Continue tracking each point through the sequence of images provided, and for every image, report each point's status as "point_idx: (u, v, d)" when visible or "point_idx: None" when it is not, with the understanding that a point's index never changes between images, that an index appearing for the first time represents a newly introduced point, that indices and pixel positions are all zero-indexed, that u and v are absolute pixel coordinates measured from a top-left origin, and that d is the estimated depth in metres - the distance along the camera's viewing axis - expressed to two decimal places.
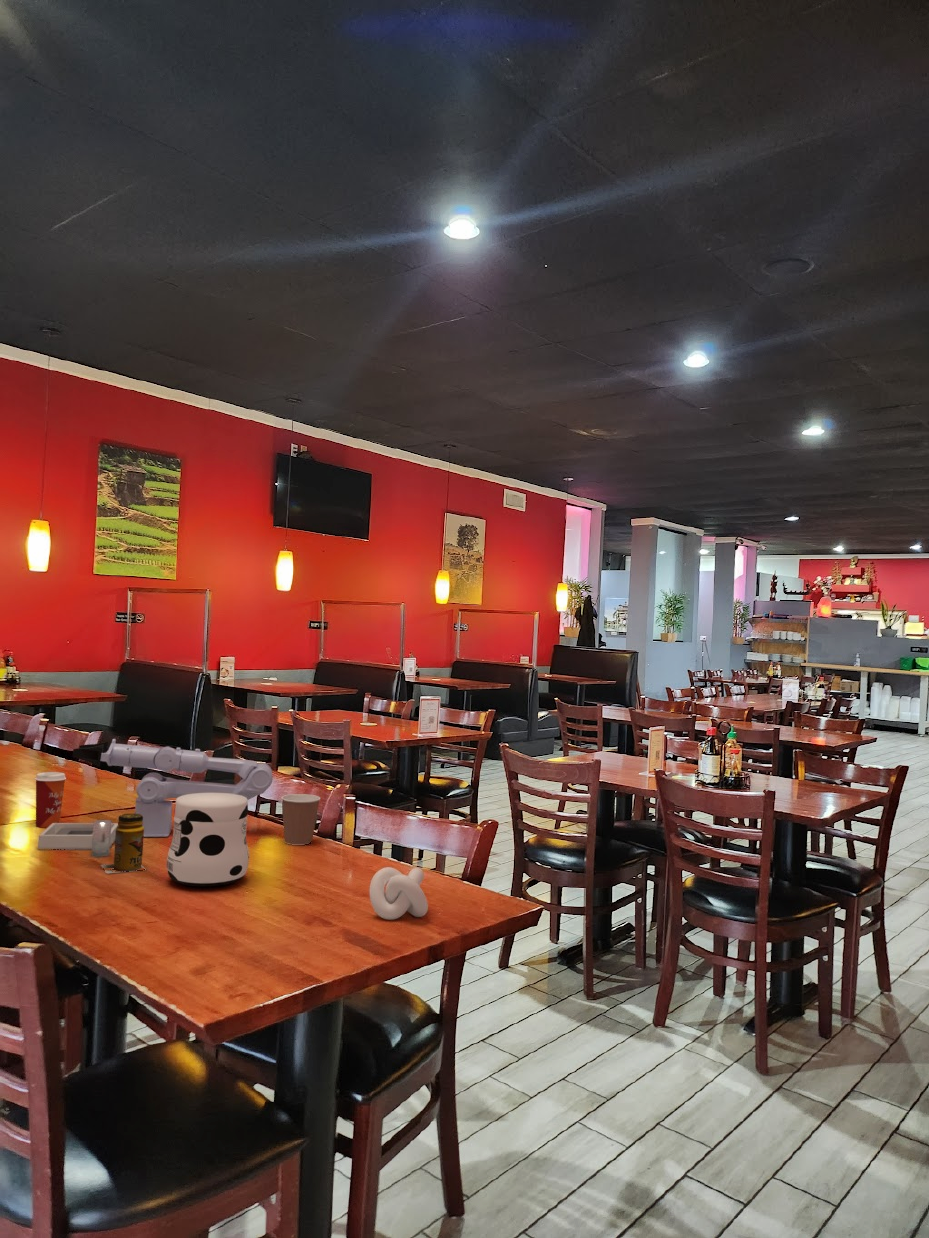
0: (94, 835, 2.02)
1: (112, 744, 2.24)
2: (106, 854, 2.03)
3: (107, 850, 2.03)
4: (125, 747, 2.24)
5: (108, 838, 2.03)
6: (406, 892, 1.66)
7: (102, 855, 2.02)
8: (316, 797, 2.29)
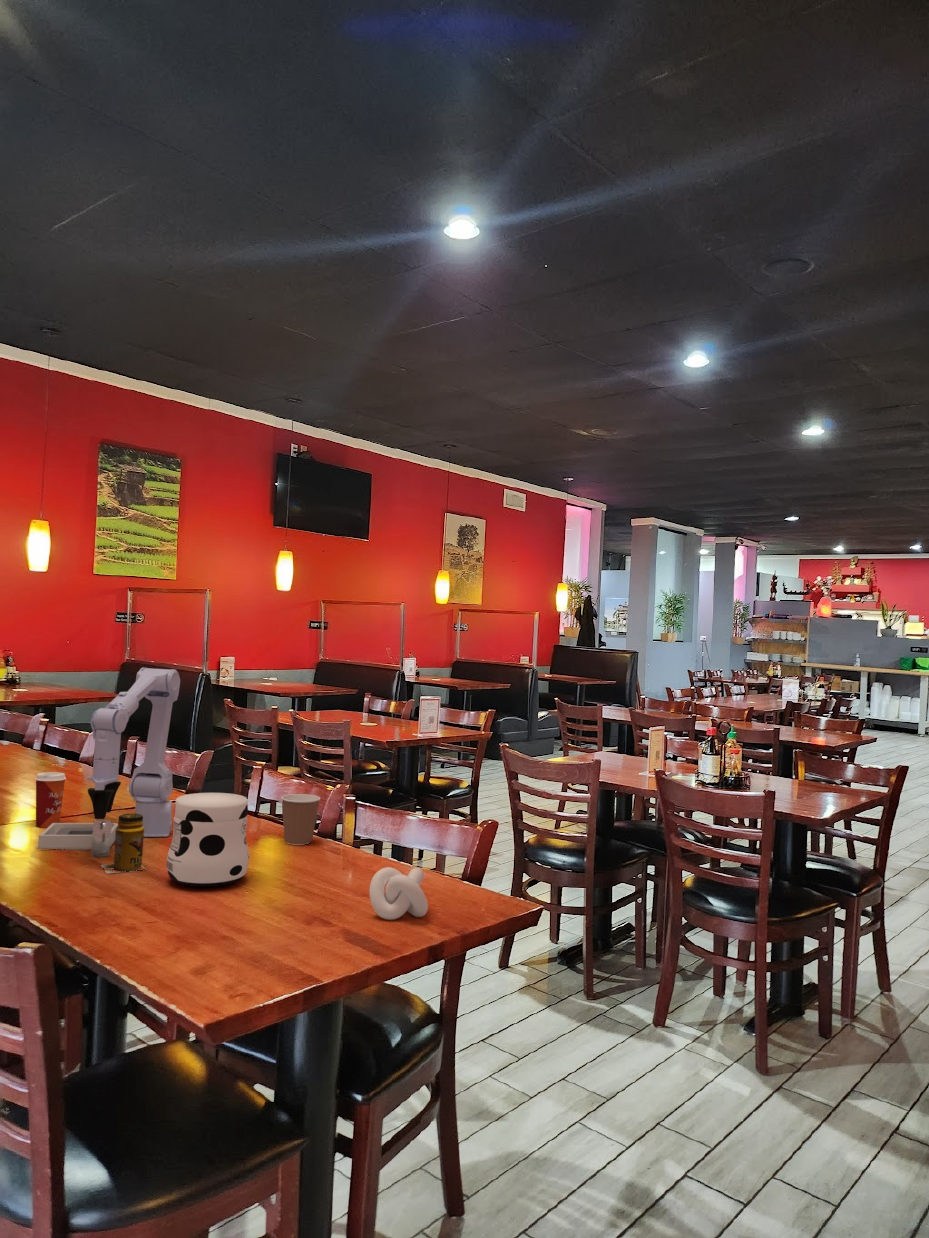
0: (94, 835, 2.02)
1: (91, 779, 2.02)
2: (106, 854, 2.03)
3: (107, 850, 2.03)
4: (94, 765, 2.02)
5: (108, 838, 2.03)
6: (406, 892, 1.66)
7: (102, 855, 2.02)
8: (316, 797, 2.29)
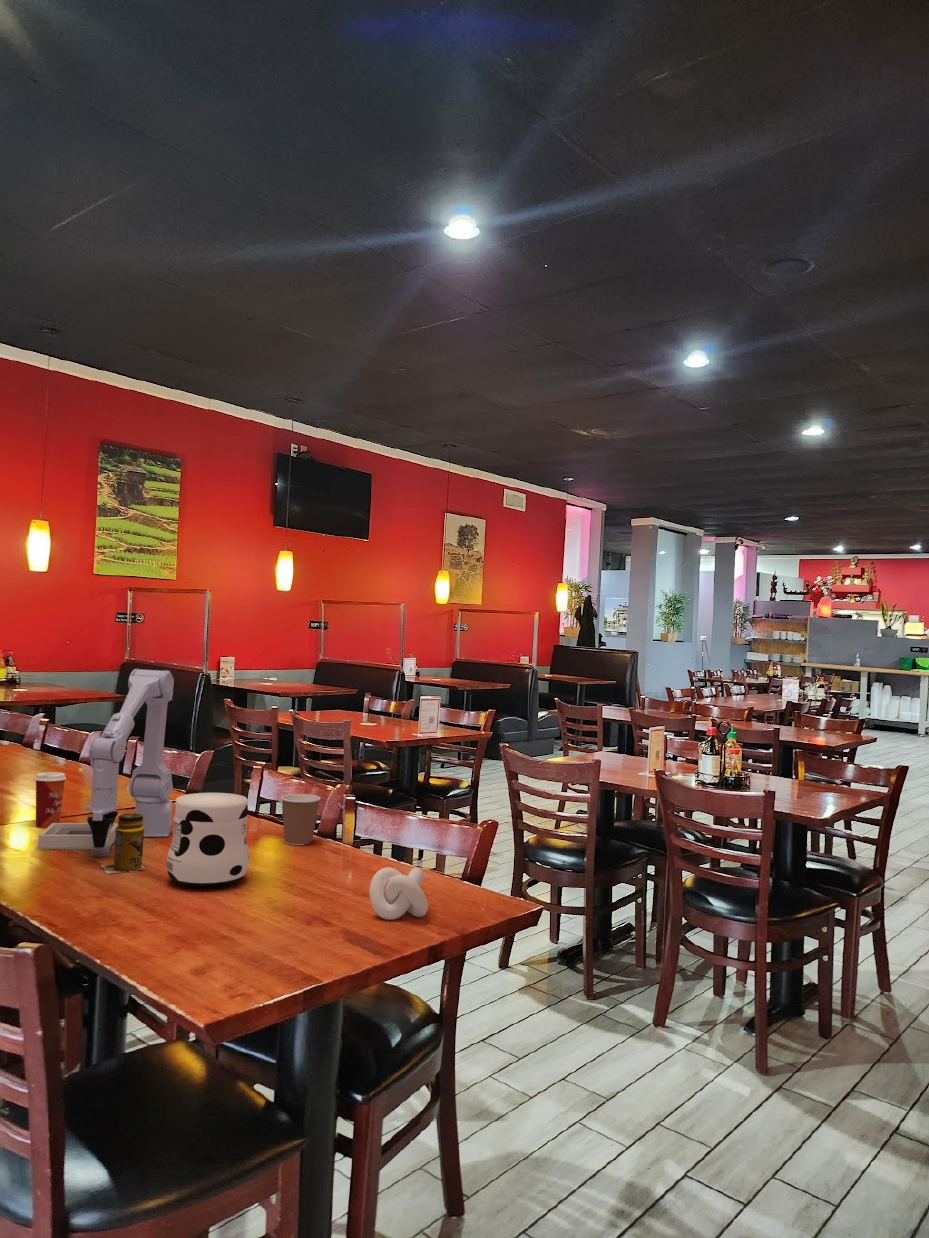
0: None
1: (90, 808, 2.02)
2: (106, 854, 2.03)
3: (107, 850, 2.03)
4: (92, 795, 2.02)
5: (108, 838, 2.03)
6: (406, 892, 1.66)
7: (102, 855, 2.02)
8: (316, 797, 2.29)
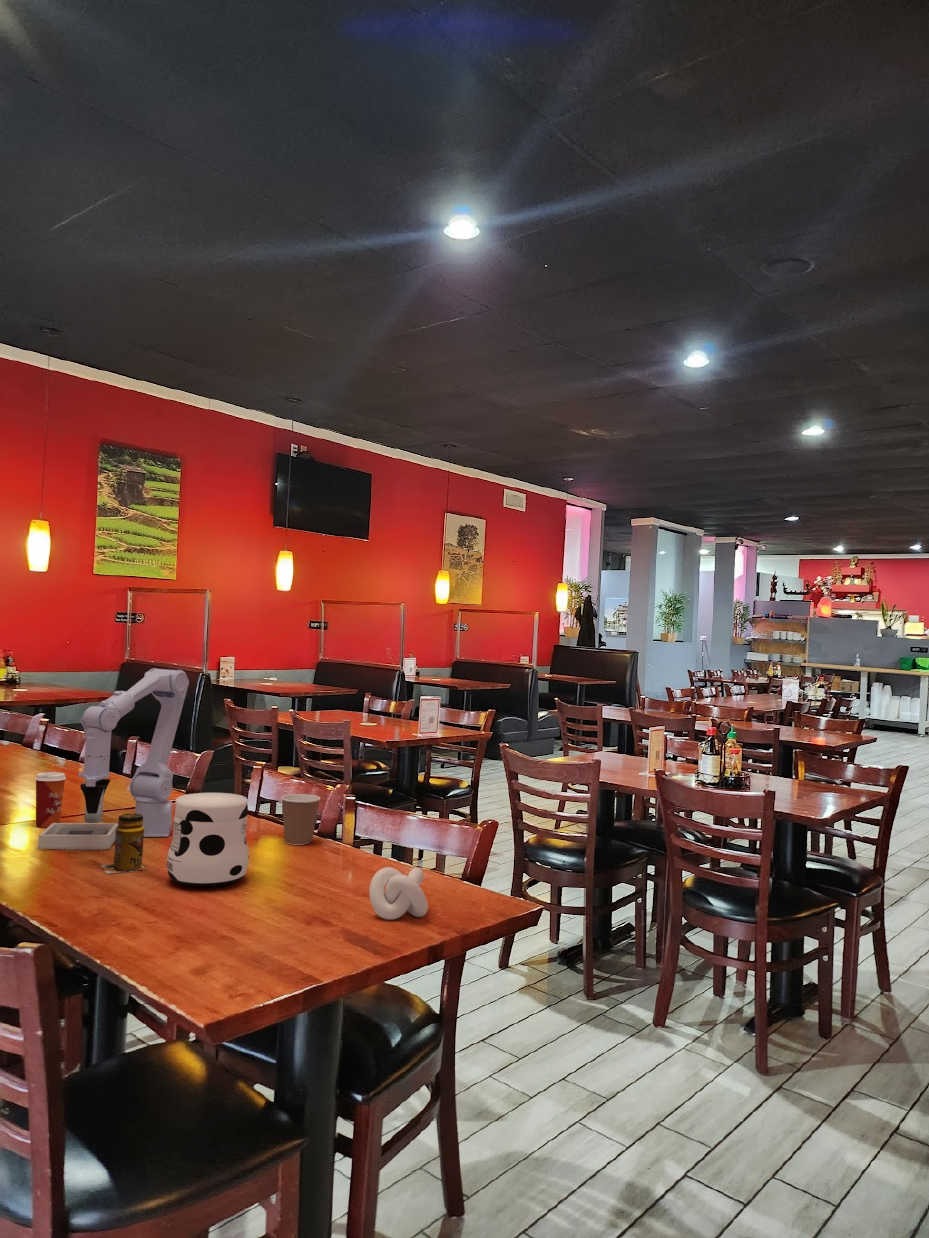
0: None
1: (83, 775, 2.06)
2: (99, 820, 2.07)
3: (100, 816, 2.08)
4: (85, 762, 2.06)
5: (101, 804, 2.08)
6: (406, 892, 1.66)
7: (95, 821, 2.07)
8: (316, 797, 2.29)
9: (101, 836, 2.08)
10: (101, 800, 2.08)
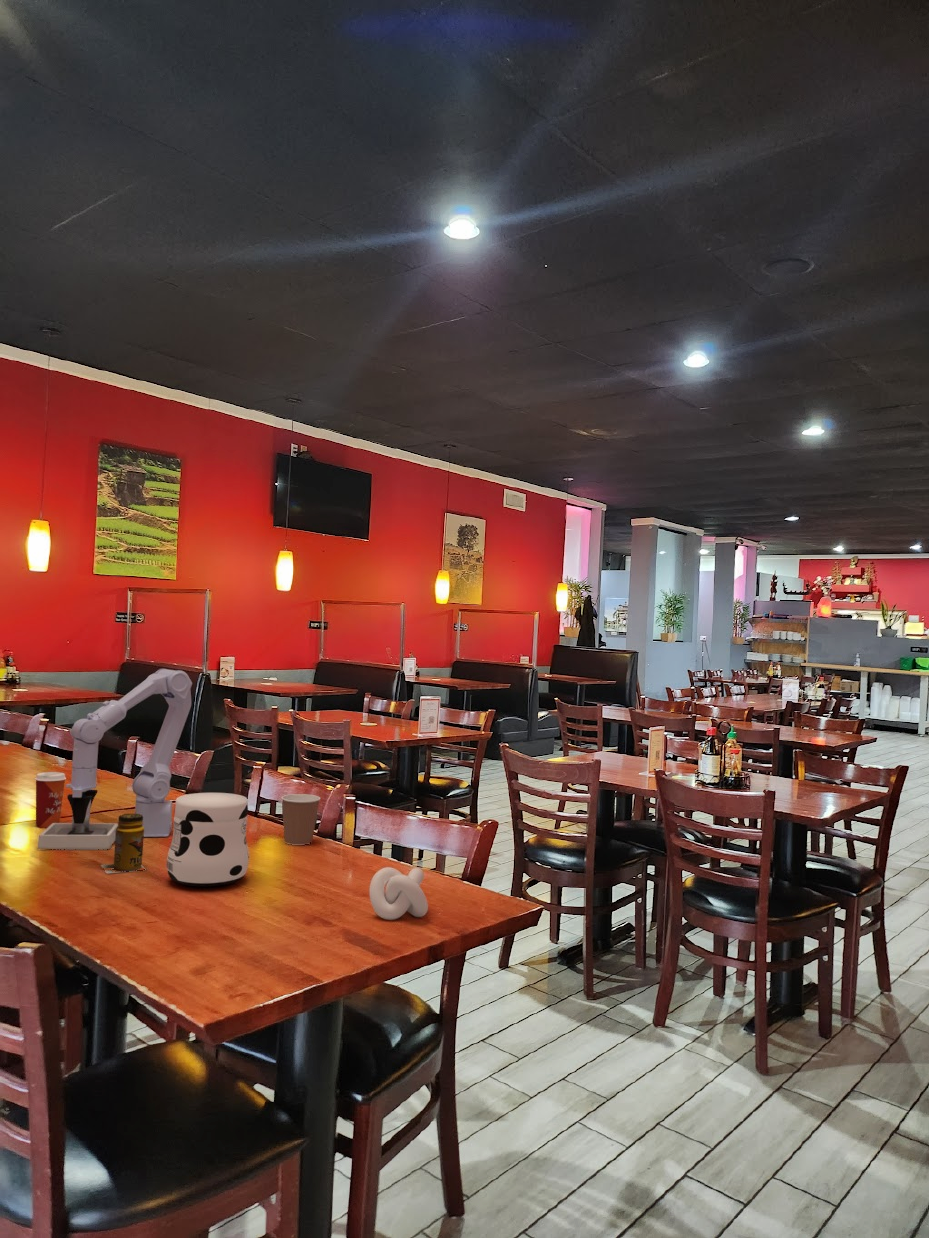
0: None
1: (70, 786, 2.12)
2: (85, 830, 2.13)
3: (86, 826, 2.13)
4: (73, 773, 2.12)
5: (87, 815, 2.13)
6: (406, 892, 1.66)
7: (81, 831, 2.12)
8: (316, 797, 2.29)
9: (101, 836, 2.08)
10: (88, 810, 2.13)
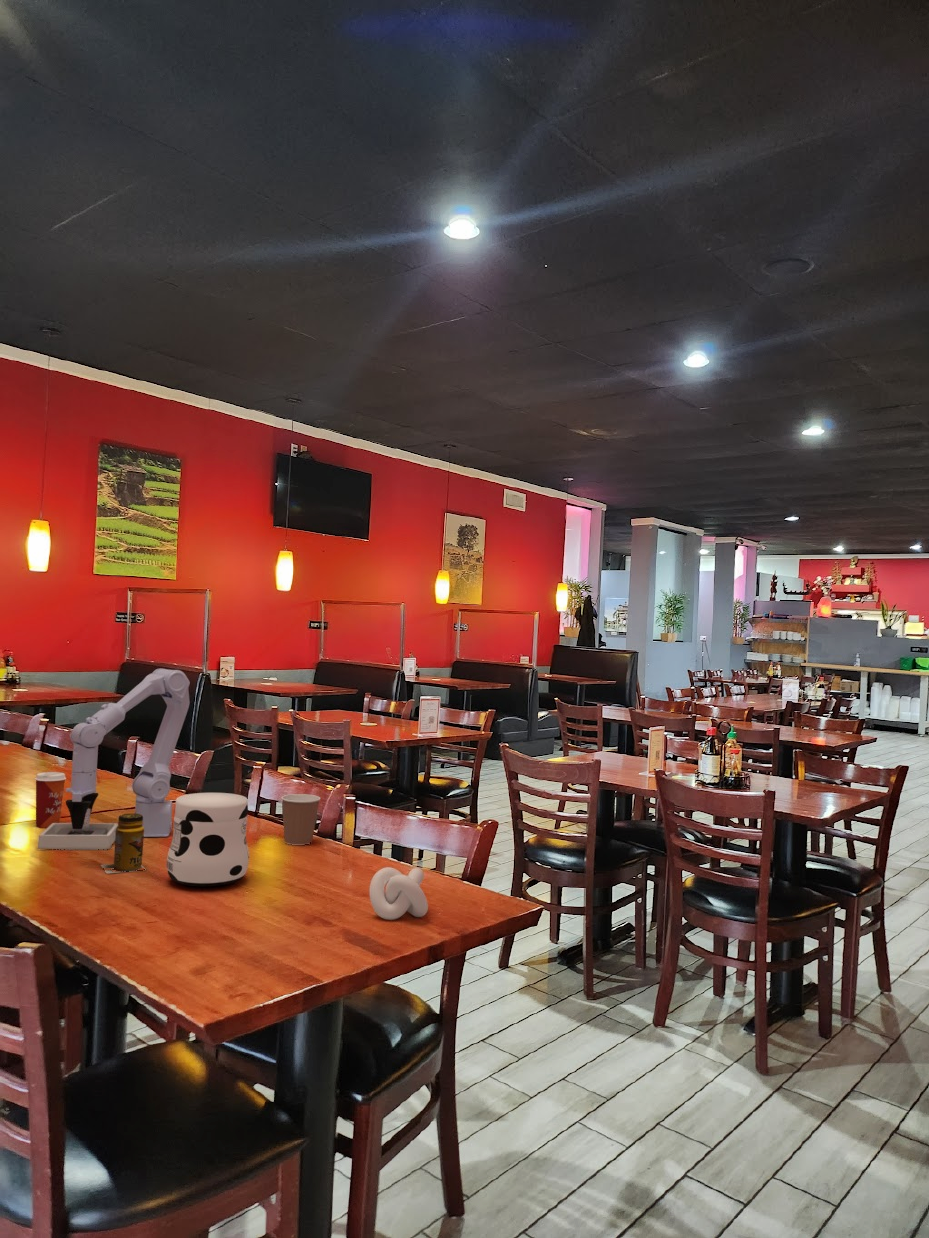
0: None
1: (70, 791, 2.12)
2: None
3: None
4: (72, 778, 2.12)
5: (87, 825, 2.13)
6: (406, 892, 1.66)
7: None
8: (316, 797, 2.29)
9: (101, 836, 2.08)
10: (87, 820, 2.13)
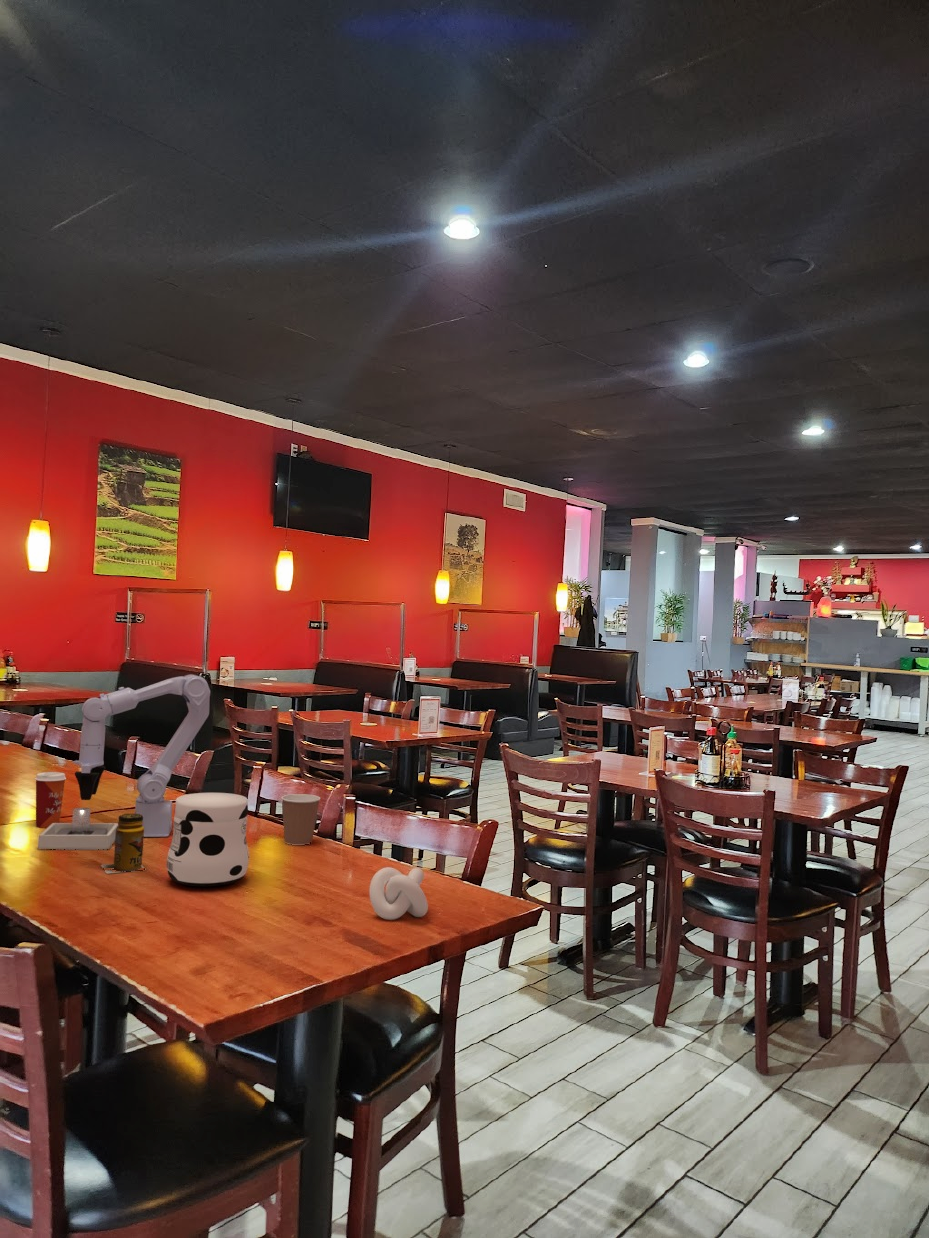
0: (73, 822, 2.12)
1: (78, 763, 2.18)
2: None
3: None
4: (81, 750, 2.18)
5: (87, 825, 2.13)
6: (406, 892, 1.66)
7: None
8: (316, 797, 2.29)
9: (101, 836, 2.08)
10: (87, 820, 2.13)
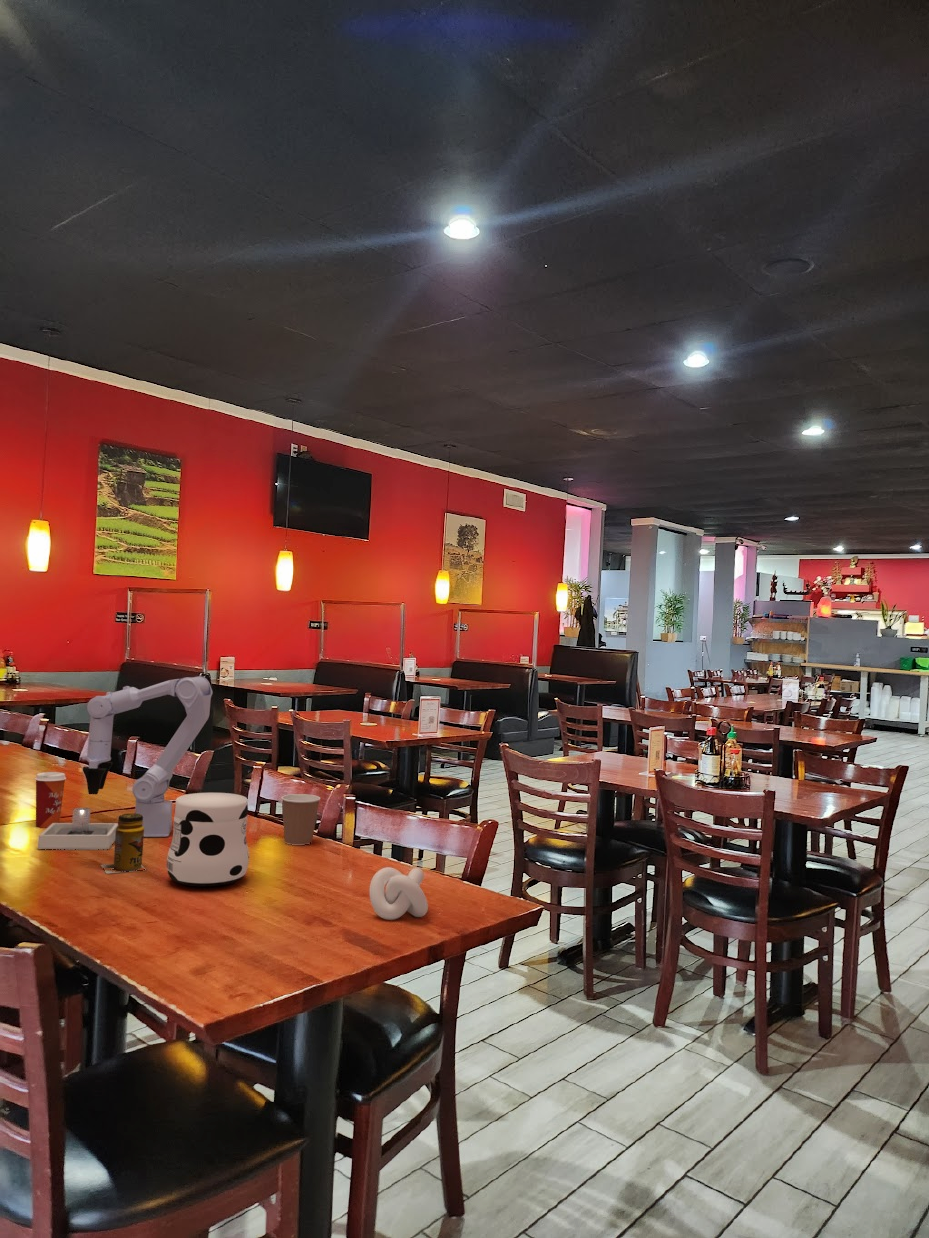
0: (73, 822, 2.12)
1: (86, 758, 2.26)
2: None
3: None
4: (89, 746, 2.26)
5: (87, 825, 2.13)
6: (406, 892, 1.66)
7: None
8: (316, 797, 2.29)
9: (101, 836, 2.08)
10: (87, 820, 2.13)
